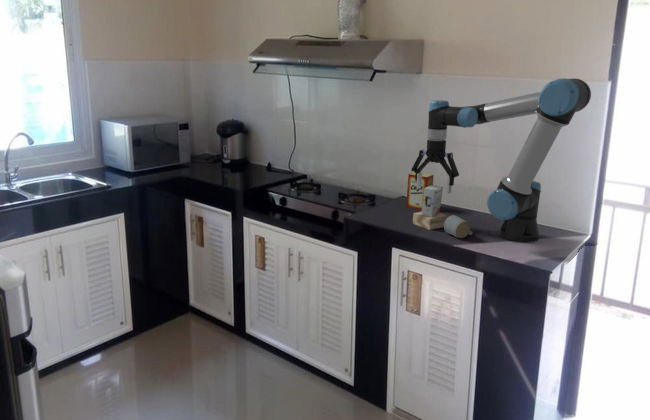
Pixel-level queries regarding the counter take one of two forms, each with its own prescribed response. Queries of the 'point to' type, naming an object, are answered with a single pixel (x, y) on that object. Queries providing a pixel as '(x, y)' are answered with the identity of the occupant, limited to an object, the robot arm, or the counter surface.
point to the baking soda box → (417, 190)
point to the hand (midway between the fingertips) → (433, 190)
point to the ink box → (432, 200)
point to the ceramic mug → (457, 227)
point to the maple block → (429, 220)
